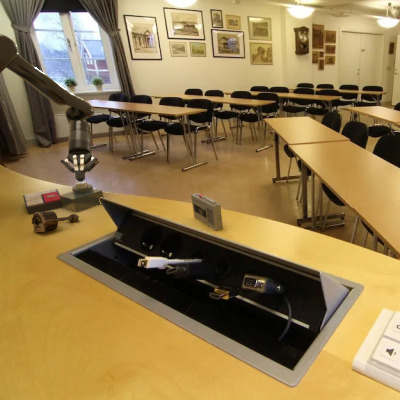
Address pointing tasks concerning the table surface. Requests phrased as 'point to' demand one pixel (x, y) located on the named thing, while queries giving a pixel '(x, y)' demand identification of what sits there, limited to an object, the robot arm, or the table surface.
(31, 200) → the dark box with panels
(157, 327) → the table surface
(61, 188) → the table surface
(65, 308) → the table surface
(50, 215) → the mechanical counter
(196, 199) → the cassette player
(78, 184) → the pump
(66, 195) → the olive block with knob
